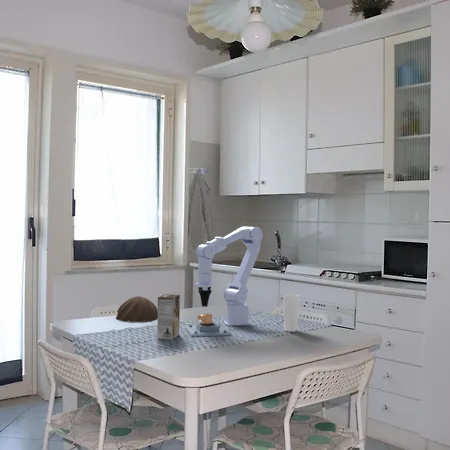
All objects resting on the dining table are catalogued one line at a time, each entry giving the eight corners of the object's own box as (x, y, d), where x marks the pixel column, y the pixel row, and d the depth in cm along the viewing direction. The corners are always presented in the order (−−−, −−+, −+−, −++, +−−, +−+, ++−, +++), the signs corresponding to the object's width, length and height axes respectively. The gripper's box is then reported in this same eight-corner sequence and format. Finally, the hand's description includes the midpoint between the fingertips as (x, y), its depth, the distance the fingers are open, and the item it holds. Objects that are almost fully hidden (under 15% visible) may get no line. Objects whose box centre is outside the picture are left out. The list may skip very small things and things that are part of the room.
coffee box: (164, 333, 221) (164, 293, 221) (179, 334, 220) (180, 294, 220) (156, 338, 212) (157, 297, 212) (172, 339, 211) (173, 297, 211)
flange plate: (222, 327, 236) (222, 320, 236) (231, 335, 221) (231, 327, 221) (185, 328, 233) (185, 321, 233) (191, 336, 217) (191, 329, 217)
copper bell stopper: (213, 329, 227) (213, 314, 227) (207, 330, 224) (207, 315, 224) (202, 327, 231) (203, 312, 231) (196, 328, 228) (196, 313, 228)
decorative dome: (129, 312, 267) (129, 292, 267) (166, 316, 260) (166, 295, 260) (107, 319, 249) (107, 297, 249) (146, 323, 242) (146, 300, 242)
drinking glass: (280, 331, 231) (281, 295, 230) (286, 328, 237) (286, 293, 236) (295, 333, 227) (296, 296, 227) (301, 330, 233) (302, 294, 233)
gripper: (195, 271, 241) (195, 302, 241) (195, 274, 227) (195, 307, 227) (211, 271, 241) (211, 302, 242) (212, 274, 227) (212, 308, 227)
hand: (204, 305), depth 234 cm, fingers open, 7 cm apart
